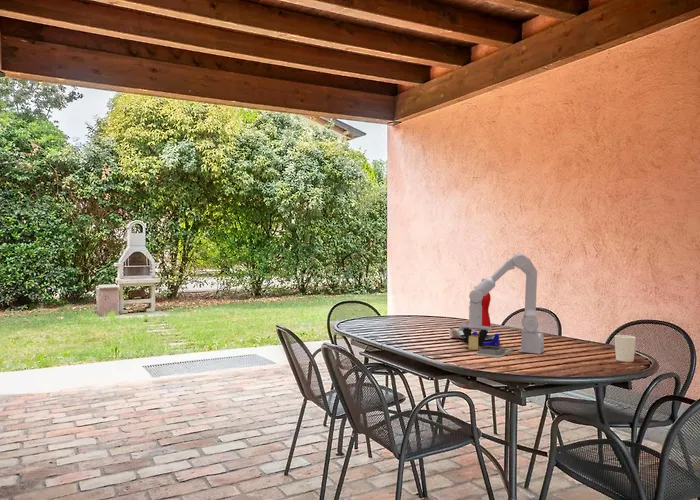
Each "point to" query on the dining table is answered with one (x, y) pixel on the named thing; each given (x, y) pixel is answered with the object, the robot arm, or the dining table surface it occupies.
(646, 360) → the dining table surface
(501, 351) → the grey base plate
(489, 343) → the cable clip
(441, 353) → the dining table surface
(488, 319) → the water bottle
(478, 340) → the tan rectangular block
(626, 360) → the white cup
